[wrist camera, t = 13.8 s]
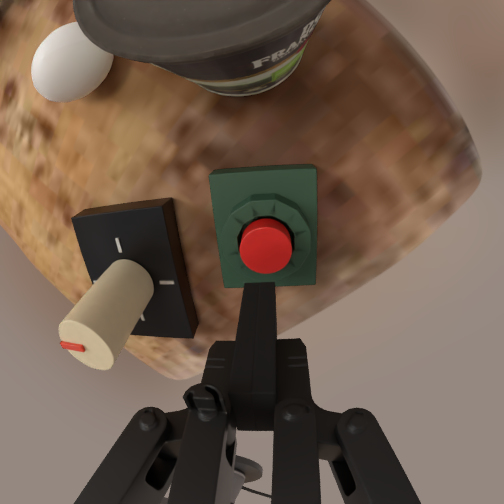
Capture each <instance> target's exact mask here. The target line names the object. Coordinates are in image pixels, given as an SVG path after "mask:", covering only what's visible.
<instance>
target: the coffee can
mask: <svg viewBox="0 0 504 504" xmlns="http://www.w3.org/2000/svg"><path fill="white" fill-rule="evenodd" d="M330 1H331V0H73V9H74V14H75V18H76V20H77V22H78V25H79V27H80V29H81V30H82V32H83V33H84V35H85V36H86V37H87V38H88V39H89V40H90V41H91V42H92V43H93V44H95V45H96V46H98V47H99V48H101V49H102V50H104V51H106V52H108V53H111V54H113V55H116V56H119V57H122V58H126V59H130V60H134V61H139V62H144V63H150V64H152V65H155V66H157V67H160V68H162V69H165V70H167V71H169V72H172V73H174V74H176V75H179V76H181V77H183V78H185V79H187V80H189V81H191V82H194V83H196V84H198V85H199V86H200V87H202V88H204V89H206V90H208V91H210V92H213V93H217V94H221V95H226V96H248V95H254V94H258V93H262V92H265V91H267V90H269V89H271V88H273V87H275V86H277V85H278V84H280V83H281V82H283V81H284V80H285V79H286V78H287V77H288V76H290V75H291V73H292V72H293V71H294V70H295V69H296V68H297V66H298V64H299V62H300V60H301V58H302V55H303V52H304V49H305V47H306V45H307V43H308V41H309V38H310V37H311V35H312V33H313V31H314V28H315V26H316V24H317V22H318V20H319V19H320V17H321V15H322V12H323V11H324V9H325V7H326V5H327V4H328V3H329V2H330Z"/></svg>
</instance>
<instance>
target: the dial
mask: <svg viewBox="0 0 504 504" xmlns="http://www.w3.org/2000/svg"><path fill="white" fill-rule="evenodd" d="M153 292H154V285H153V281H152V279H151V277H150V275H149V273H148V272H147V271H146V270H145V269H144V268H143V267H142V266H141V265H139V264H138V263H136V262H134V261H131V260H127V259H121V260H117V261H115V262H114V263H112V264H111V266H110V267H109V268H108V269H107V270H106V271H105V272H104V273H103V274H102V275H101V276H100V278H99V279H98V280H97V281H96V282H95V283H94V284H93V285H92V286H91V288H90V289H89V290H88V291H87V292H86V293H85V295H84V296H83V297H82V298H81V299H80V300H79V302H78V303H77V304H76V305H75V306H74V307H73V309H72V310H71V311H70V312H69V314H68V315H67V316H66V317H65V318H64V320H63V321H62V322H61V324H60V325H59V335H60V338H61V340H62V341H61V342H60V344H61V346H62V348H64V349H67V350H68V351H69V352H70V353H71V354H72V355H73V356H74V357H75V358H77V359H78V360H79V361H81V362H82V363H84V364H85V365H87V366H89V367H92V368H95V369H98V370H108V369H110V368H112V367H113V365H114V363H115V361H116V360H117V358H118V356H119V354H120V352H121V350H122V348H123V347H124V345H125V343H126V341H127V339H128V337H129V336H130V334H131V332H132V330H133V329H134V327H135V325H136V323H137V321H138V320H139V318H140V316H141V315H142V313H143V311H144V309H145V308H146V306H147V304H148V303H149V301H150V299H151V297H152V296H153Z"/></svg>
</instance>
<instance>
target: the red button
mask: <svg viewBox="0 0 504 504" xmlns="http://www.w3.org/2000/svg"><path fill="white" fill-rule="evenodd" d="M291 255H292V245H291V238H290V234H289V232H288V230H287V229H286V227H285V226H284V225H283V224H281V223H280V222H278V221H276V220H273V219H259V220H256V221H254V222H252V223H251V224H249V225H248V226H247V228H246V229H245V230H244V232H243V235H242V239H241V243H240V256H241V259H242V261H243V262H244V264H245V265H246V266H247V267H248V268H250V269H251V270H253V271H255V272H258V273H262V274H270V273H274V272H277V271H279V270H281V269H282V268H284V267H285V266H286V265H287V263H288V262H289V260H290V258H291Z"/></svg>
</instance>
